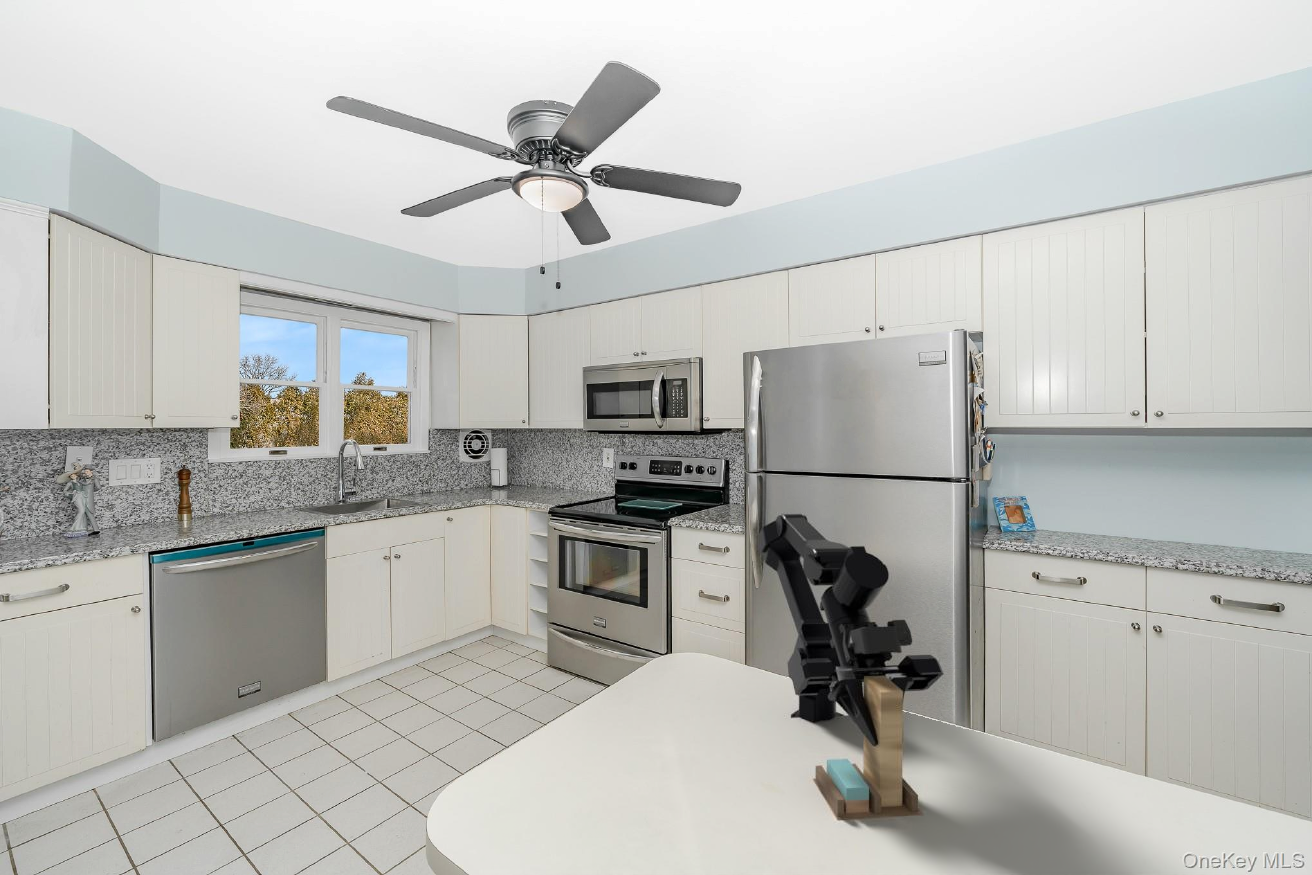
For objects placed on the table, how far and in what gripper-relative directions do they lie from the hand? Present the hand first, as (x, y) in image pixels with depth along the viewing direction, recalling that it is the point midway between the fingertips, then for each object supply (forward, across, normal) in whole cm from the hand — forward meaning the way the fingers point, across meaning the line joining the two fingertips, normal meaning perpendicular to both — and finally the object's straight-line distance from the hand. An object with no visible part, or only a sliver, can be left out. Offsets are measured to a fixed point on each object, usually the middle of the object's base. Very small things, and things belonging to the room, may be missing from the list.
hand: (888, 744), depth 70 cm
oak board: (+4, 0, +6) cm, 7 cm away
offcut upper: (+3, -5, +5) cm, 7 cm away
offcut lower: (+4, -5, +6) cm, 9 cm away
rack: (+5, -2, +7) cm, 8 cm away
